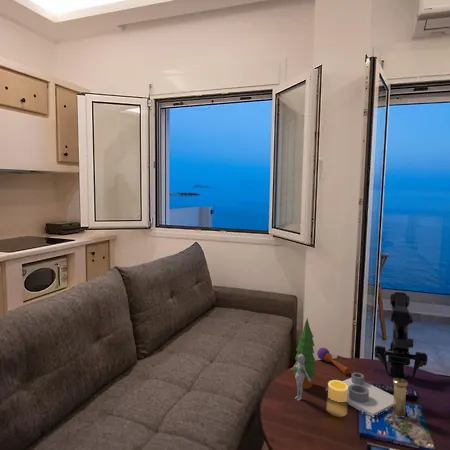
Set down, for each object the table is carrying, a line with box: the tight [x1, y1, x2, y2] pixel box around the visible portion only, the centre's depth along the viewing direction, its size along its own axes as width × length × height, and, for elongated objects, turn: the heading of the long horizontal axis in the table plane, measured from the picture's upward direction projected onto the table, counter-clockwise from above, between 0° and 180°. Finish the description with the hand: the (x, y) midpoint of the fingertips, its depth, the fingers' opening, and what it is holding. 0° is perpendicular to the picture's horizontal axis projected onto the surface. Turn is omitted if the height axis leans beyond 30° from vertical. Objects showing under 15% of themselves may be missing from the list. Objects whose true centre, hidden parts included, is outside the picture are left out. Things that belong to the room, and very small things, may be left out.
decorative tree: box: [292, 317, 317, 390], centre depth 157 cm, size 10×9×30 cm
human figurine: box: [290, 354, 312, 401], centre depth 147 cm, size 12×4×18 cm, turn 28°
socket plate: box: [325, 372, 394, 416], centre depth 148 cm, size 18×22×5 cm
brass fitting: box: [392, 377, 409, 417], centre depth 136 cm, size 5×5×13 cm
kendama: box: [316, 347, 351, 376], centre depth 176 cm, size 6×6×20 cm
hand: (399, 376), depth 141 cm, fingers open, 9 cm apart
